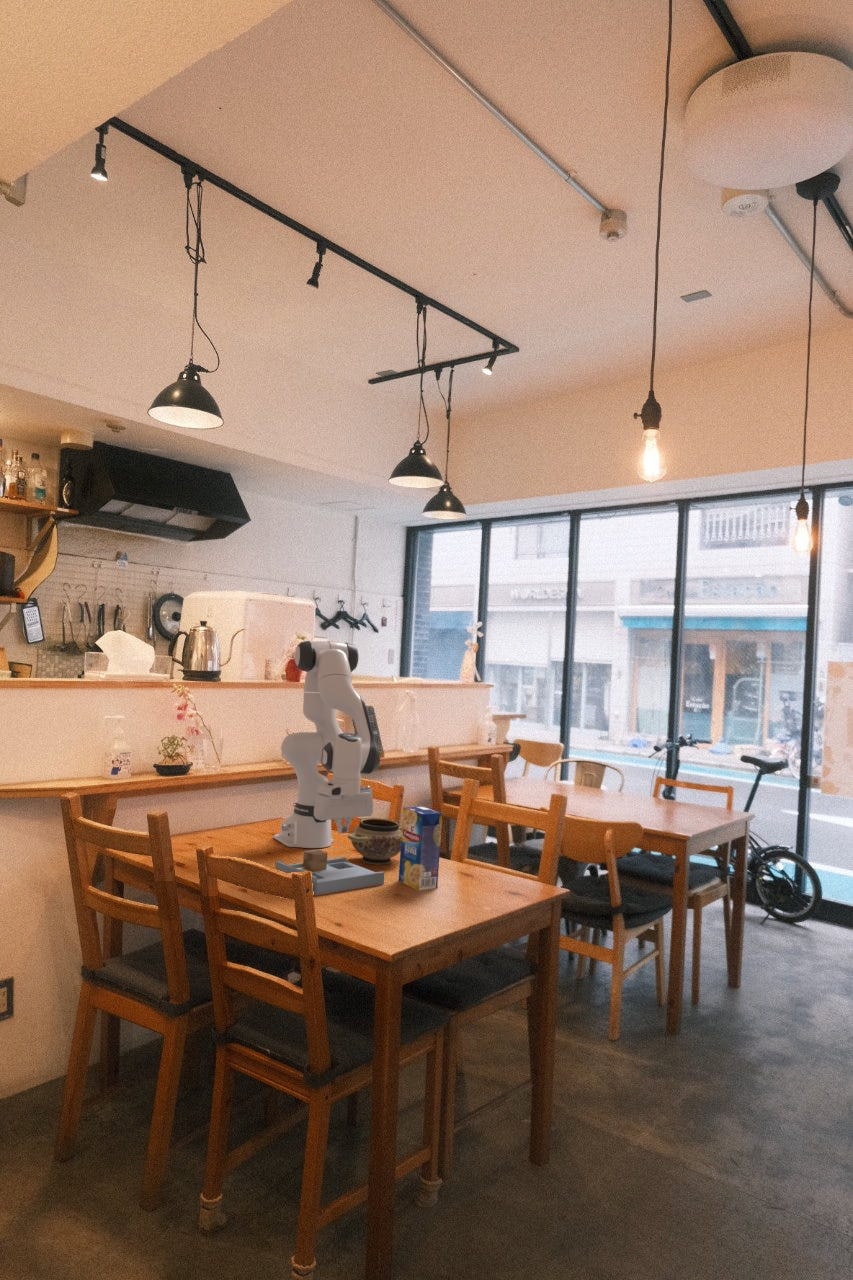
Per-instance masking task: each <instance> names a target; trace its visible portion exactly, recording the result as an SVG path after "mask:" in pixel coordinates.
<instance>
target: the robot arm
mask: <svg viewBox="0 0 853 1280" xmlns="http://www.w3.org/2000/svg"><path fill="white" fill-rule="evenodd" d="M293 657H294V662H295V665H296V667H297V669H298V670H299V671H303V672H305V673H306V674H305V679H304V686H303V704H302V714H303V715H304V717H305V718H306V719H307V720H309V721H310V722H312V723H314V726H315V730H316V731H315V732H314V731H313V732H309V731H307V732H305V731H302V732H294V733H291V734H287V735H286V736H285V737H284V739H283V740H282V742H281V748H280V750H281V755H282V756H283V759H284V760H285V761H286V762H287V763H288V764H289V765H290V766H291V767H292V769H293V770H294V772H295V775H296V778H297V802H294V803H293V805H292V806H293V807H294V809H293V813H291V814H290V815H289V816H288V817H287V818H286V819H284V820H283V821H282V823H281V828H280V833H276V834H274V835H273V839H275V840H276V841H278V842H279V843H281V844H283V845H284V846H286V847H290V848H303V849H304V848H305V849H321V848H327V847H330V846H332V843H334V838H332V820H334V823H335V825H336V827H337V829H336V830H337V833H338V834H346V833H349V828H350V826H351V824H352V822H353V818H362V817H371V816H372V815H373V812H374V801H373V794H374V793H373V789H372V788H371V787H370V786H369V785H361V784H362V783H361V781H362V775H361V774H363V775H370V774H372V773H374V772H375V771H376V770H377V769H378V768H379V766H380V764H381V753H380V750H379V747H378V745H377V742H376V739H375V737H374V731H373V728H372V724H371V721H370V720H371V719H370V717H369V713H368V710H367V706H366V702H365V700H364V698H363V697H362V696H361V695H359V694H358V693H357V690H356V689H355V687H354V685H353V682H352V672H353V671H354V670H356V668H357V666H358V663H359V650H358V648H357V647H356V644H353V643H349V642H340V641H334V640H327V641H326V640H323V641H320V640H317V641H310V640H307V641H305V640H304V641H301V642H300V643H298V644H297V646H296V648H295V652H294V656H293ZM336 710H337V711H339V712H341V713H344V714H345V715H348V716H349V717H350V718H351V719H352V720H353V722H354V724H355V725H354V726H355V729H356V732H357V734H356V733H352V732H351V733H350V732H343V731H342V729H341V728H340V726H339V725H340V724H339V723H338V721H337V717H336ZM318 764H319V765H321V766H323V768H324V769H326V771H327V772H331V773H332V776H331V779H330V780H329V779H328V778H327V777H326V776H325V775H323V774H321V773H320V772H319V770H318ZM343 819H344V820H345V822H344V824H342V823H343Z"/></svg>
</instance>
